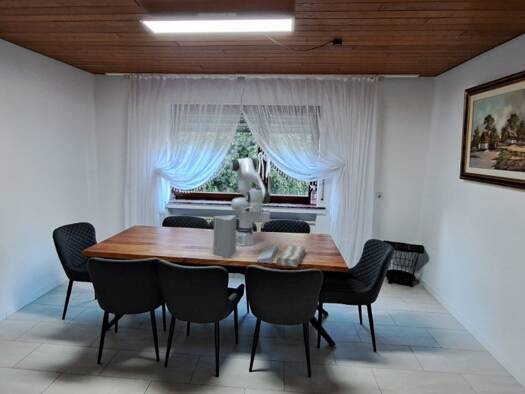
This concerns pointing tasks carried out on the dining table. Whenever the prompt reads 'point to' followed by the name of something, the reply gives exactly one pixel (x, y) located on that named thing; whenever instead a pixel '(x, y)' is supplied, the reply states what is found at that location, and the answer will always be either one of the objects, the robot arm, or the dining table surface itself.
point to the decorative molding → (268, 254)
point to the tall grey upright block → (224, 236)
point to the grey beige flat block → (291, 256)
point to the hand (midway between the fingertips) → (255, 227)
